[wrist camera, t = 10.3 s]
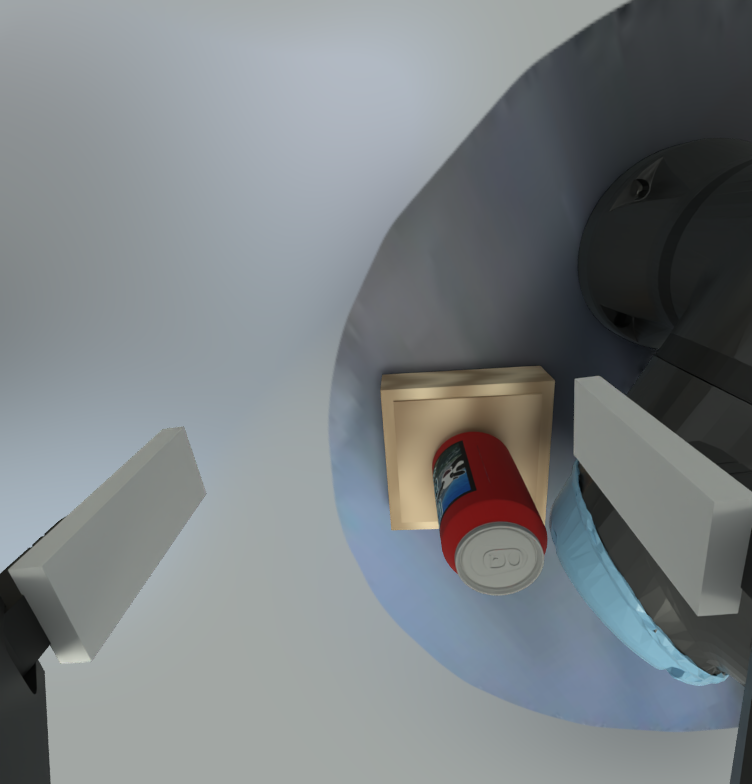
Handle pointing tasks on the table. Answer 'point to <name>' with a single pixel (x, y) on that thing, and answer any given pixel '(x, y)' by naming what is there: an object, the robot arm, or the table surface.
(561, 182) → the table surface
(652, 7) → the table surface
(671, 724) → the table surface
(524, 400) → the square tray
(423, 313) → the table surface
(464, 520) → the beverage can
